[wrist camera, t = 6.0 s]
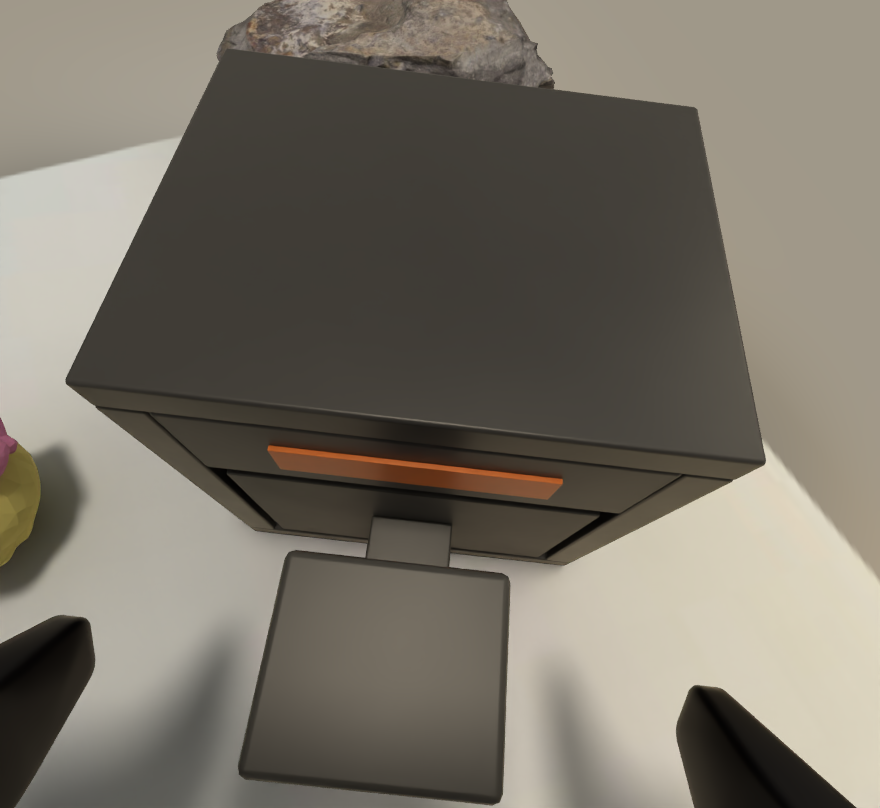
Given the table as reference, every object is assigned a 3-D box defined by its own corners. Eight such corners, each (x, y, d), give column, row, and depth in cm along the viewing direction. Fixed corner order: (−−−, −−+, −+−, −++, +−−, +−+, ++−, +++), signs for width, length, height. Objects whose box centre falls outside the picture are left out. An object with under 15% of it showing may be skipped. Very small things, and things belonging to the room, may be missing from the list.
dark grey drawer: (536, 710, 14) (806, 841, 4) (247, 679, 13) (-80, 748, 4) (540, 365, 18) (675, 87, 9) (326, 339, 18) (249, 33, 9)
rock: (459, 24, 29) (467, -103, 24) (587, 131, 25) (628, 5, 20) (219, 97, 25) (173, -38, 20) (325, 241, 21) (297, 114, 16)
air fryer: (565, 569, 16) (770, 471, 7) (252, 534, 16) (57, 388, 7) (563, 353, 20) (698, 105, 11) (307, 323, 19) (224, 45, 10)
